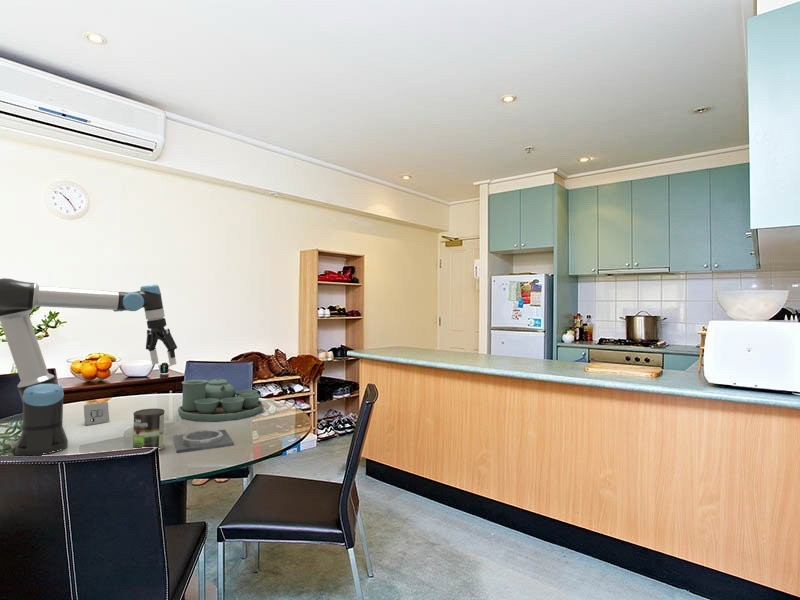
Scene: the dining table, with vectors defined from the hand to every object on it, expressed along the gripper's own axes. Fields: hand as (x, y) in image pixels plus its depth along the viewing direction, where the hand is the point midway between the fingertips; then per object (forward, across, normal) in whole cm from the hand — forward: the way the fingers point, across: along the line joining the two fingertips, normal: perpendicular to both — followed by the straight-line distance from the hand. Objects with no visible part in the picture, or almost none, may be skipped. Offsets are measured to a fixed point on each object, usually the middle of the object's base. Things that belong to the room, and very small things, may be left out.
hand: (164, 364), depth 203 cm
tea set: (+32, -1, -24) cm, 41 cm away
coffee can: (+24, -27, +28) cm, 46 cm away
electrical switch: (+22, +26, +21) cm, 40 cm away
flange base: (+28, -36, +12) cm, 47 cm away
